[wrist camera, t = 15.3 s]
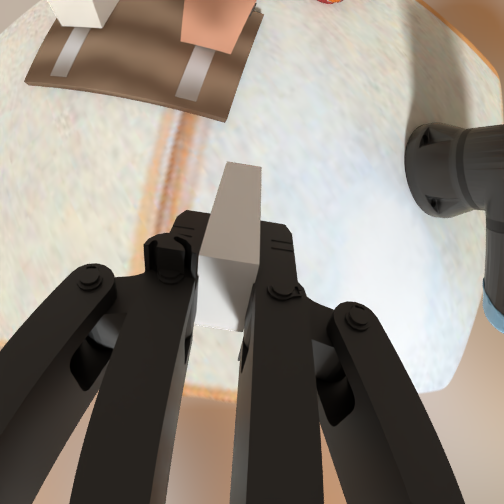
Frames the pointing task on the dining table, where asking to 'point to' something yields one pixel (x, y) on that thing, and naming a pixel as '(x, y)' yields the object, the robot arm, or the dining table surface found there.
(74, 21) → the key
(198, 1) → the key
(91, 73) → the board
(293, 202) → the dining table surface
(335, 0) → the smoothie
